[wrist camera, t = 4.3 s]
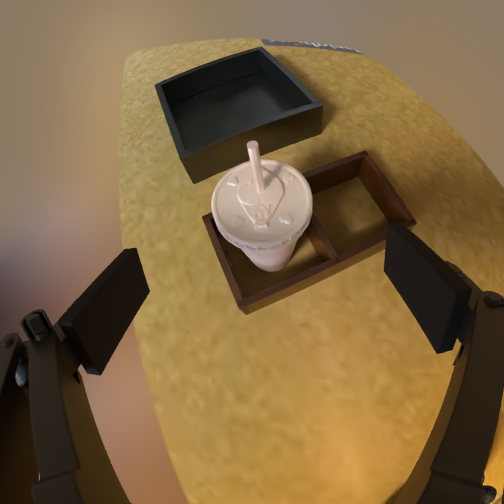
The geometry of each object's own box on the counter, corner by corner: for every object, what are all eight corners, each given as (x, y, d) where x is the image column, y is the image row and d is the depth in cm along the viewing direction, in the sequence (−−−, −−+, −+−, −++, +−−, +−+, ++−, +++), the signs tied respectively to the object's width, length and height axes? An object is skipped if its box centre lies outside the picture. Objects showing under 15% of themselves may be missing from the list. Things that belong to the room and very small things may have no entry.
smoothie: (303, 219, 27) (309, 107, 14) (308, 285, 25) (327, 206, 12) (236, 223, 28) (196, 117, 15) (235, 288, 26) (182, 215, 13)
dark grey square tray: (320, 134, 31) (323, 105, 26) (193, 184, 30) (180, 158, 26) (264, 70, 36) (261, 46, 32) (165, 107, 36) (154, 84, 32)
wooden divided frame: (404, 238, 25) (417, 223, 22) (245, 315, 25) (238, 309, 22) (359, 170, 28) (365, 150, 25) (211, 232, 28) (201, 216, 25)
